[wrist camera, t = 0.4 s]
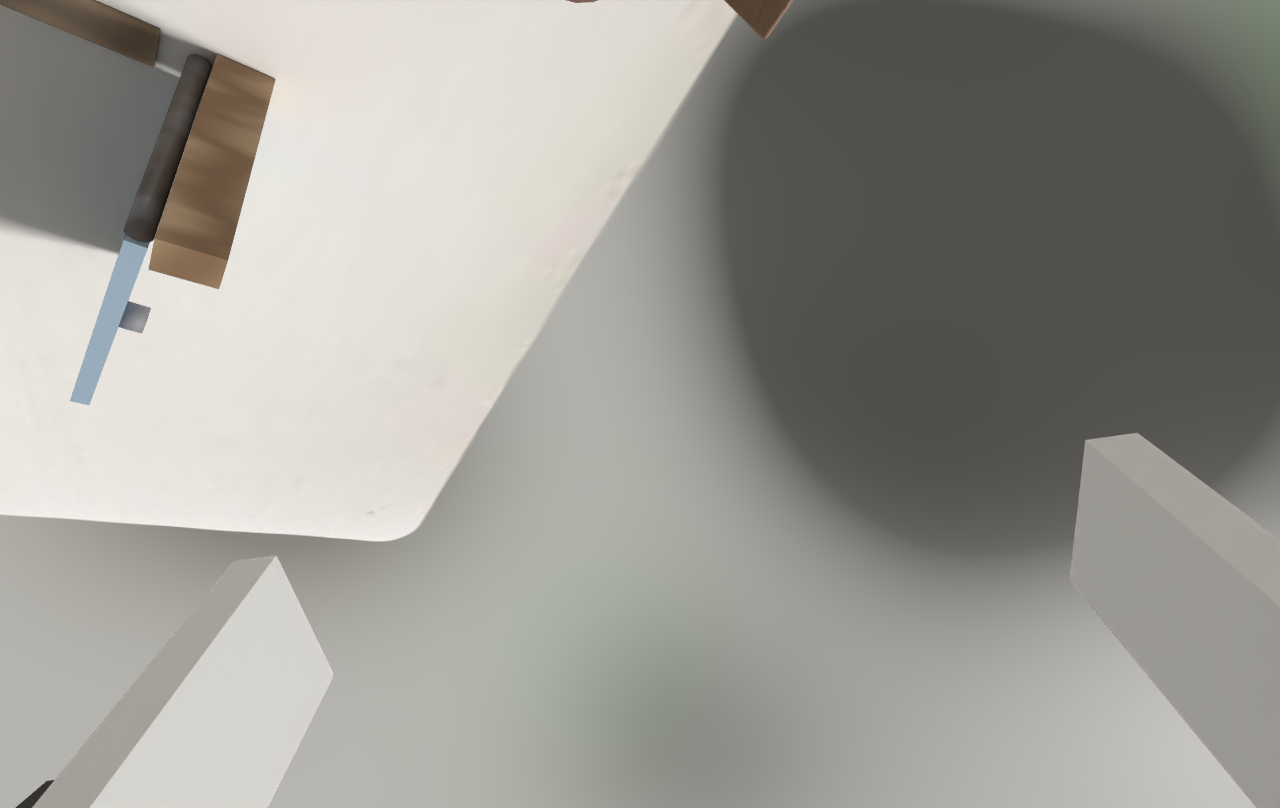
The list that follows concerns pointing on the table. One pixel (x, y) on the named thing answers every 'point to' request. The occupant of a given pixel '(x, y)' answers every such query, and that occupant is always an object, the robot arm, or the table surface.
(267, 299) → the table surface
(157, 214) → the door frame
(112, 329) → the door
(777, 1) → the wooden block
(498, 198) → the table surface
